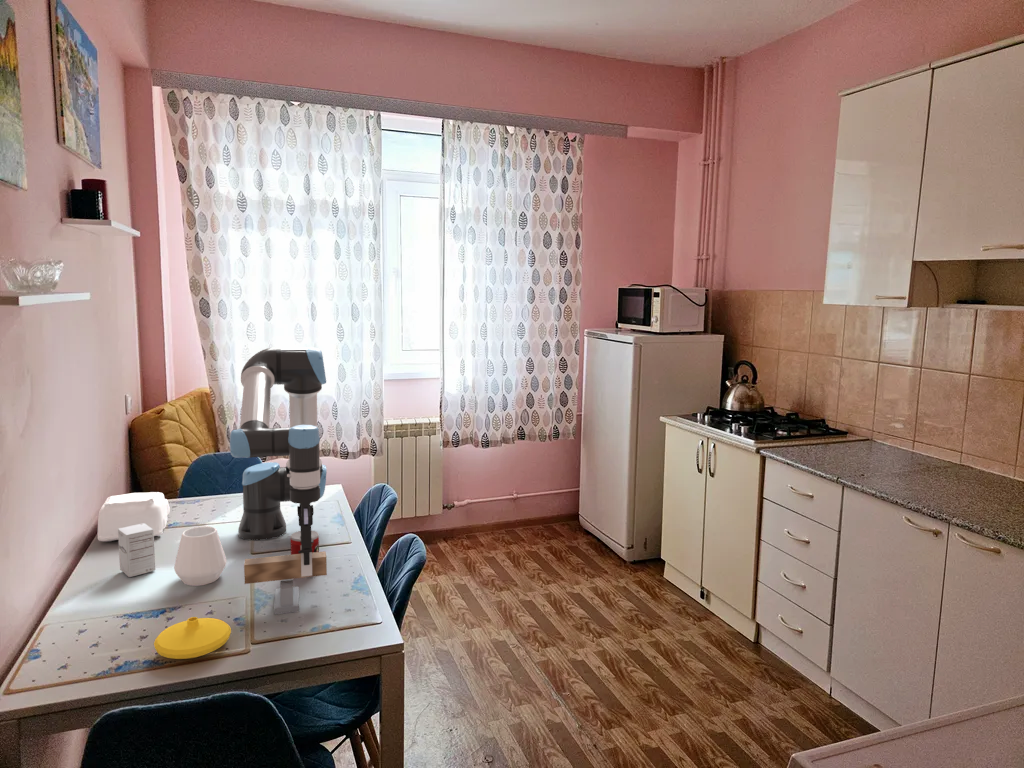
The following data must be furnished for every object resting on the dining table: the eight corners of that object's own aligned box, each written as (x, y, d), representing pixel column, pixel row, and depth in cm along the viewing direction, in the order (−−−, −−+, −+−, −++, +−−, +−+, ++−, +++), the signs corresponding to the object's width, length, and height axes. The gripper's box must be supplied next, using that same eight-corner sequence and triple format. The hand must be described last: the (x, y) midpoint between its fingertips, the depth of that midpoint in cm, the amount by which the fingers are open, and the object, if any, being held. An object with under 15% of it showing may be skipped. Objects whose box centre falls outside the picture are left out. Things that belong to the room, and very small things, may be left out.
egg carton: (95, 546, 209) (92, 505, 207) (111, 517, 236) (109, 481, 235) (163, 539, 216) (161, 499, 215) (171, 512, 244) (169, 476, 242)
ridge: (275, 594, 178) (274, 572, 177) (298, 591, 180) (298, 570, 179) (274, 614, 167) (273, 591, 166) (299, 611, 168) (299, 588, 168)
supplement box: (119, 570, 191) (116, 528, 189) (147, 563, 196) (145, 522, 195) (128, 578, 186) (125, 534, 184) (156, 570, 191) (154, 528, 190)
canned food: (311, 577, 189) (310, 540, 188) (285, 574, 190) (285, 537, 189) (324, 567, 196) (323, 531, 195) (299, 564, 198) (298, 529, 197)
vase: (178, 630, 158) (177, 602, 157) (243, 632, 157) (242, 604, 157) (139, 666, 142) (137, 635, 141) (210, 669, 142) (209, 638, 141)
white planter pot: (163, 584, 183) (161, 535, 181) (201, 566, 195) (199, 520, 193) (201, 592, 178) (199, 542, 176) (237, 573, 190) (236, 527, 189)
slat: (244, 584, 167) (244, 565, 166) (245, 577, 171) (245, 559, 170) (326, 575, 173) (326, 556, 173) (325, 569, 177) (325, 551, 177)
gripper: (289, 478, 178) (291, 561, 180) (289, 495, 162) (291, 587, 164) (318, 476, 180) (320, 558, 183) (321, 493, 164) (322, 583, 167)
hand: (306, 571), depth 174 cm, fingers closed on slat, 4 cm apart
